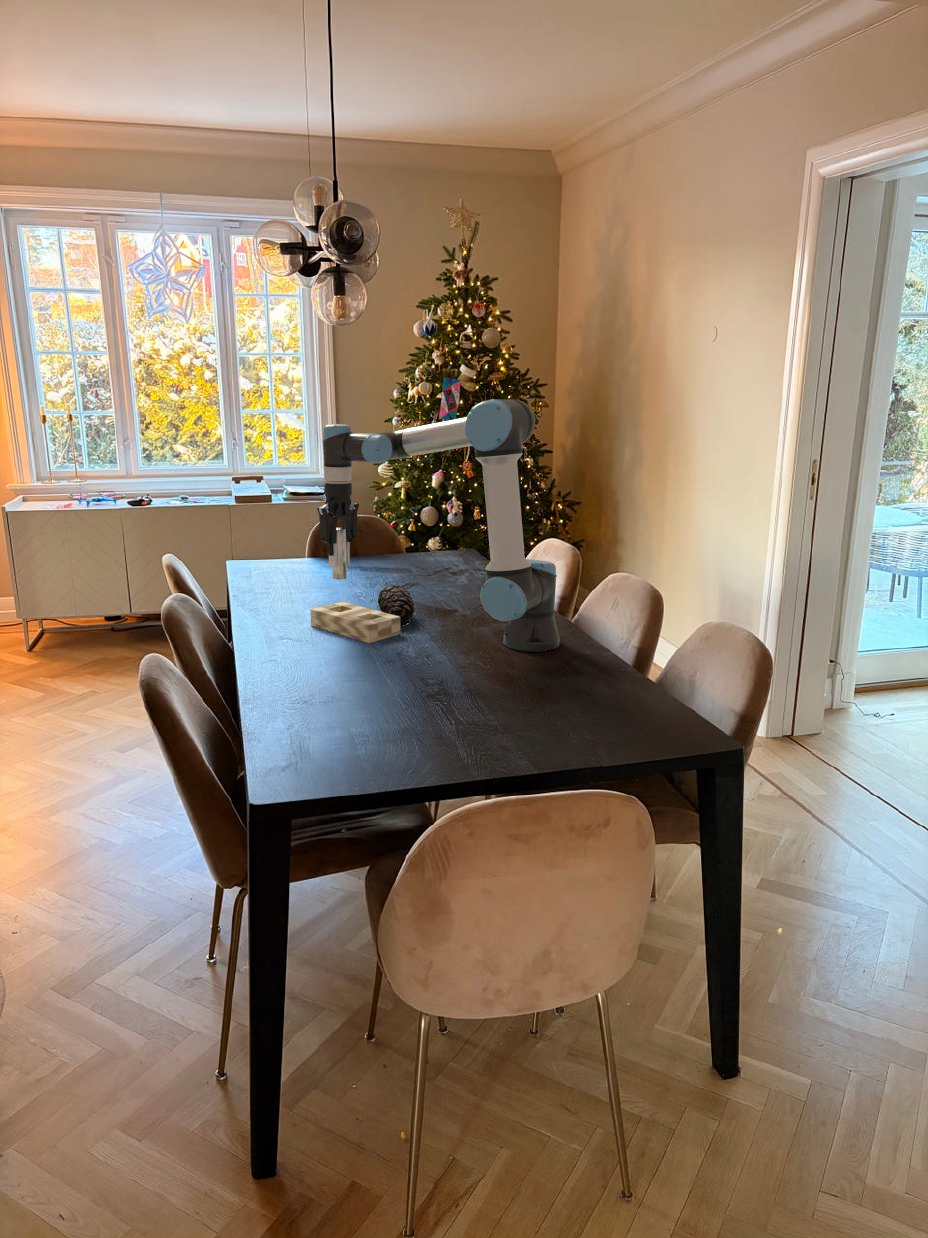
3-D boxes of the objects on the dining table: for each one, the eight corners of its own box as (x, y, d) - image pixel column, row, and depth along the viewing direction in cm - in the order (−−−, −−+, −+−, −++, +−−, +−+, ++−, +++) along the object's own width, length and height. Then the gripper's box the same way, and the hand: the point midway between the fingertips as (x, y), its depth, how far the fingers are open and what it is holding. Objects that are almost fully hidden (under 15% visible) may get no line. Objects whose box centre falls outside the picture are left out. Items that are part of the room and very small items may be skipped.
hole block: (400, 634, 249) (400, 616, 247) (368, 643, 240) (368, 625, 238) (342, 618, 264) (342, 601, 262) (310, 626, 255) (310, 609, 253)
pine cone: (390, 630, 253) (390, 595, 250) (373, 614, 269) (373, 582, 266) (425, 627, 256) (425, 593, 254) (406, 611, 272) (406, 579, 270)
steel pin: (349, 577, 252) (349, 528, 248) (338, 580, 249) (338, 530, 245) (340, 575, 254) (339, 527, 251) (329, 577, 252) (328, 528, 248)
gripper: (351, 478, 253) (352, 559, 259) (304, 482, 241) (307, 567, 247) (370, 480, 248) (370, 563, 255) (323, 485, 236) (325, 572, 242)
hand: (339, 565), depth 251 cm, fingers closed on steel pin, 4 cm apart
